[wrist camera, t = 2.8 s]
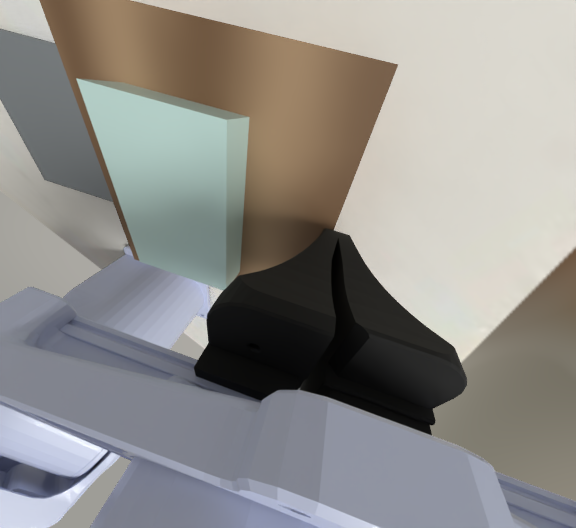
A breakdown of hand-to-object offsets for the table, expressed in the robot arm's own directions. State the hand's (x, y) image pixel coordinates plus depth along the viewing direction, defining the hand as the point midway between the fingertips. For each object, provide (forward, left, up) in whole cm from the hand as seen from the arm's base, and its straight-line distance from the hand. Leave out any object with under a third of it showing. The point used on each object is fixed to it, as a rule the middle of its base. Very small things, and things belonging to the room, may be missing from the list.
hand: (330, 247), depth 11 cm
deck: (-7, 0, -5) cm, 9 cm away
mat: (-20, 0, -5) cm, 21 cm away
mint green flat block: (-8, 0, -1) cm, 8 cm away
